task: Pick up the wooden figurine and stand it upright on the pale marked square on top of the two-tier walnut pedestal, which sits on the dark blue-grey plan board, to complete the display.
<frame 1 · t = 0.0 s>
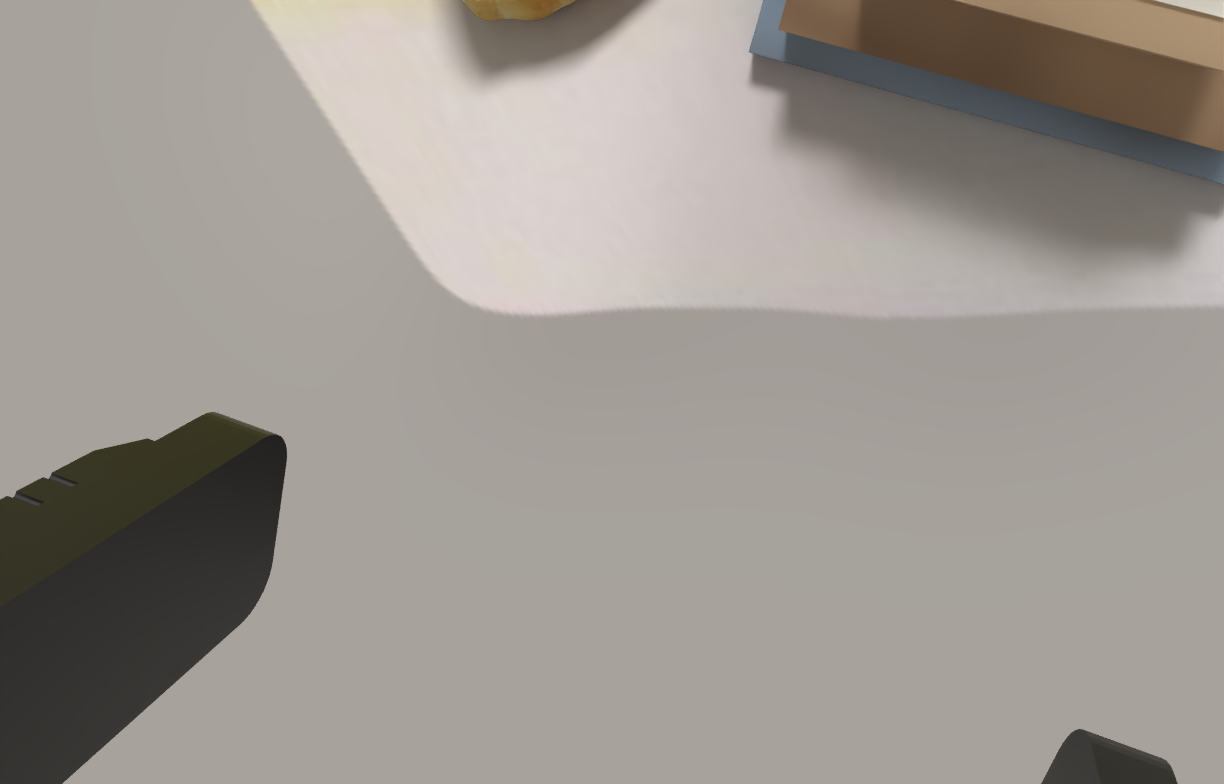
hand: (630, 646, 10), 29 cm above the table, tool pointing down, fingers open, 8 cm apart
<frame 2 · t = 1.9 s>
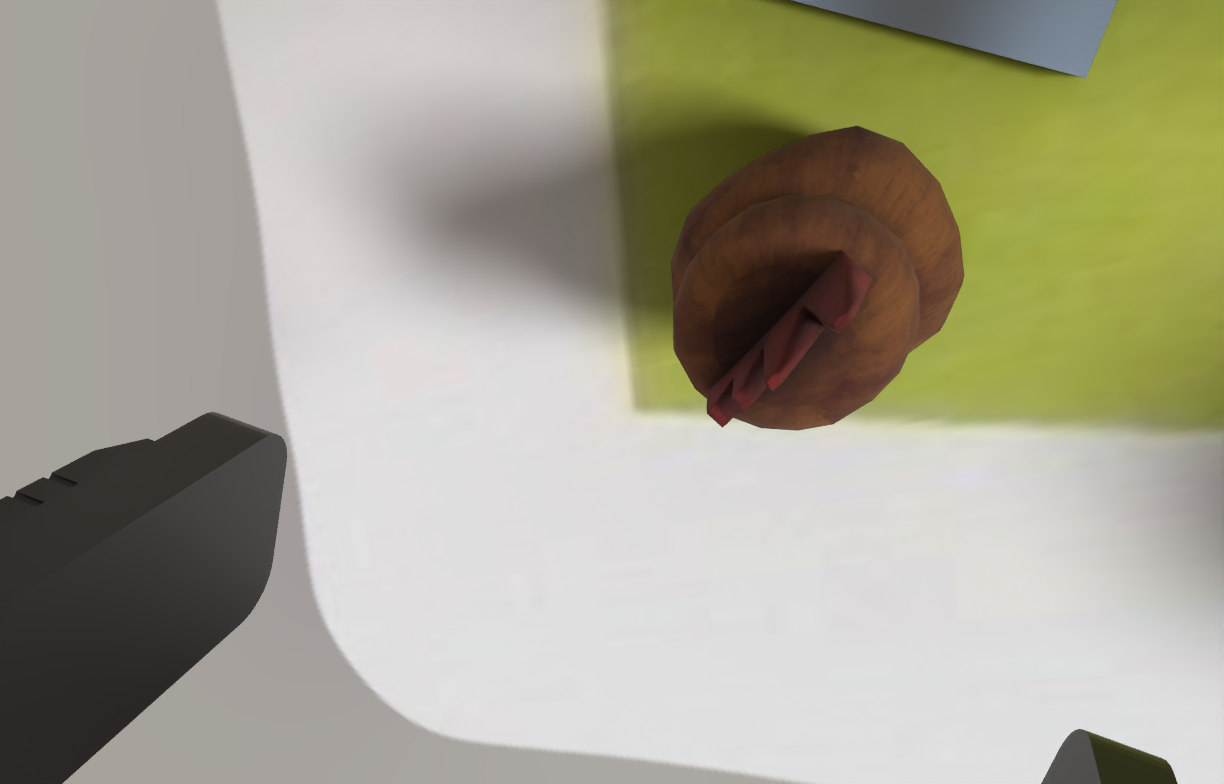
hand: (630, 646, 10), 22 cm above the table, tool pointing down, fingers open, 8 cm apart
wooden figurine: (829, 229, 30), on the table
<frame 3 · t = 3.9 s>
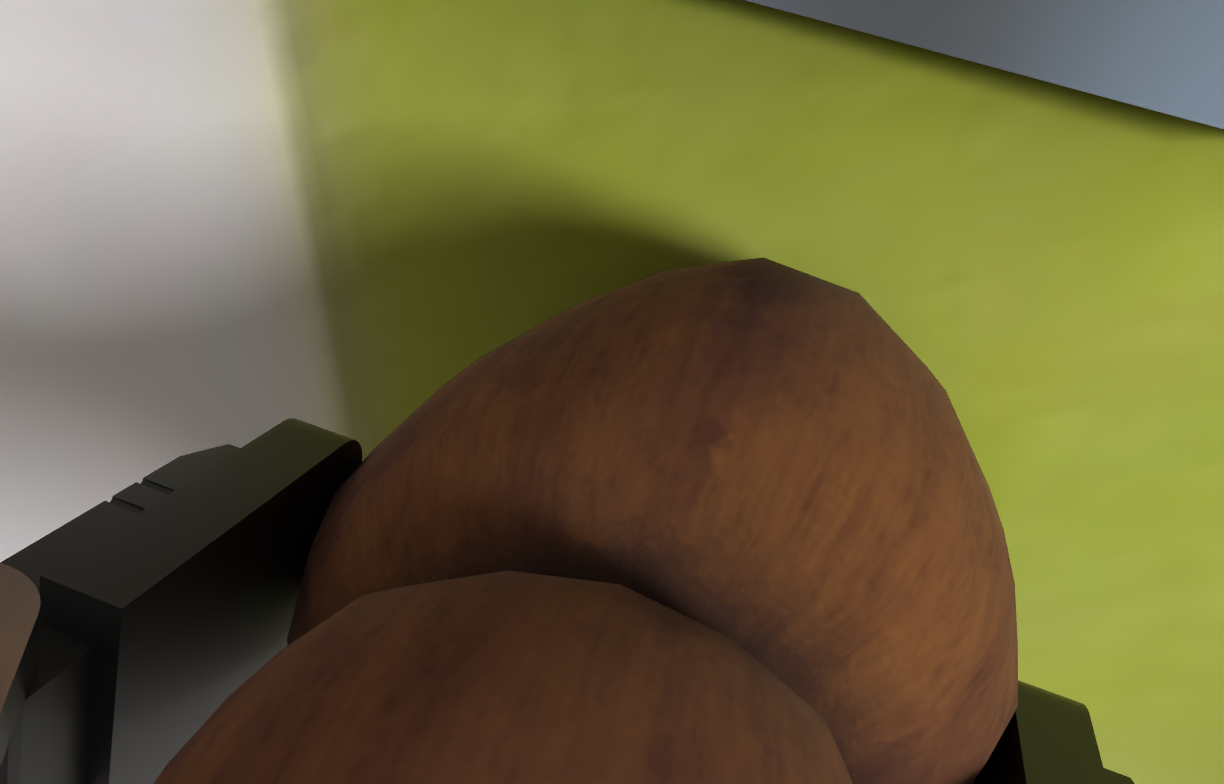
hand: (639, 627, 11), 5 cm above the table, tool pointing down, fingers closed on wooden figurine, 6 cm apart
wooden figurine: (729, 426, 15), on the table, touching gripper
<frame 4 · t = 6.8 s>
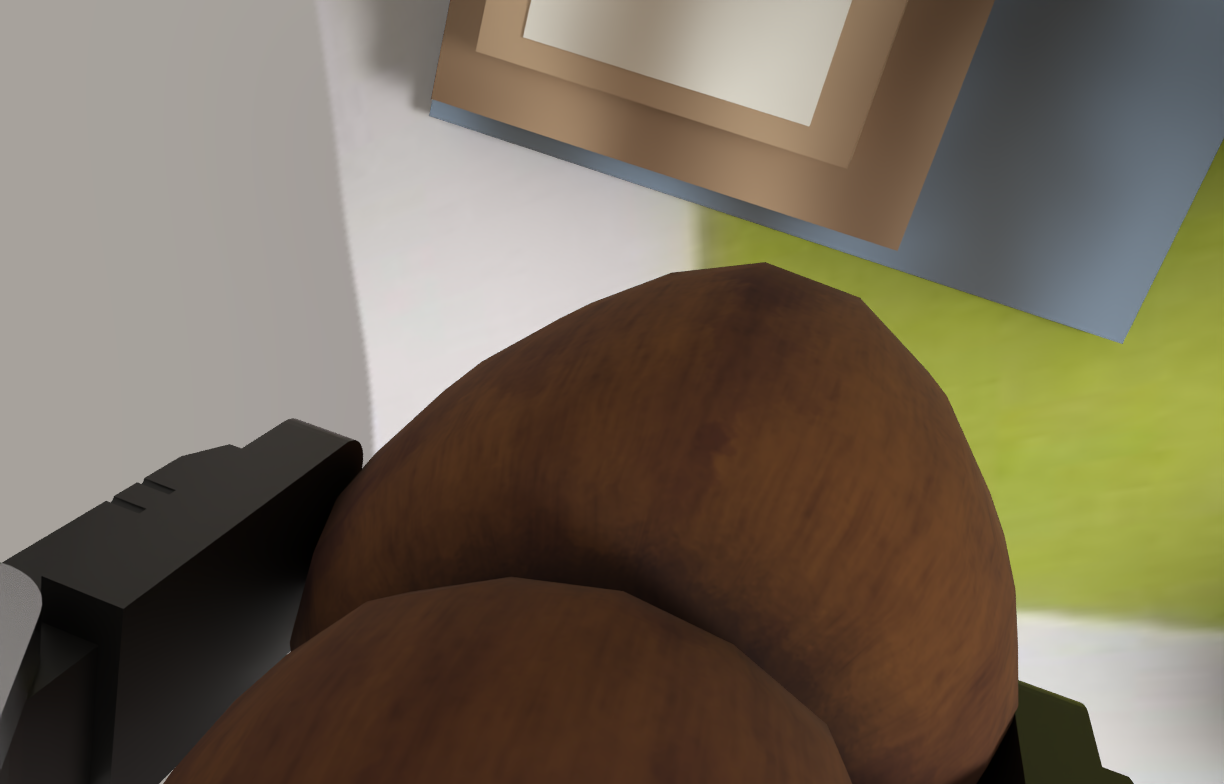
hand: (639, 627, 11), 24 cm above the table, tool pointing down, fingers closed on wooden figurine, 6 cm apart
wooden figurine: (730, 429, 15), point 19 cm above the table, touching gripper
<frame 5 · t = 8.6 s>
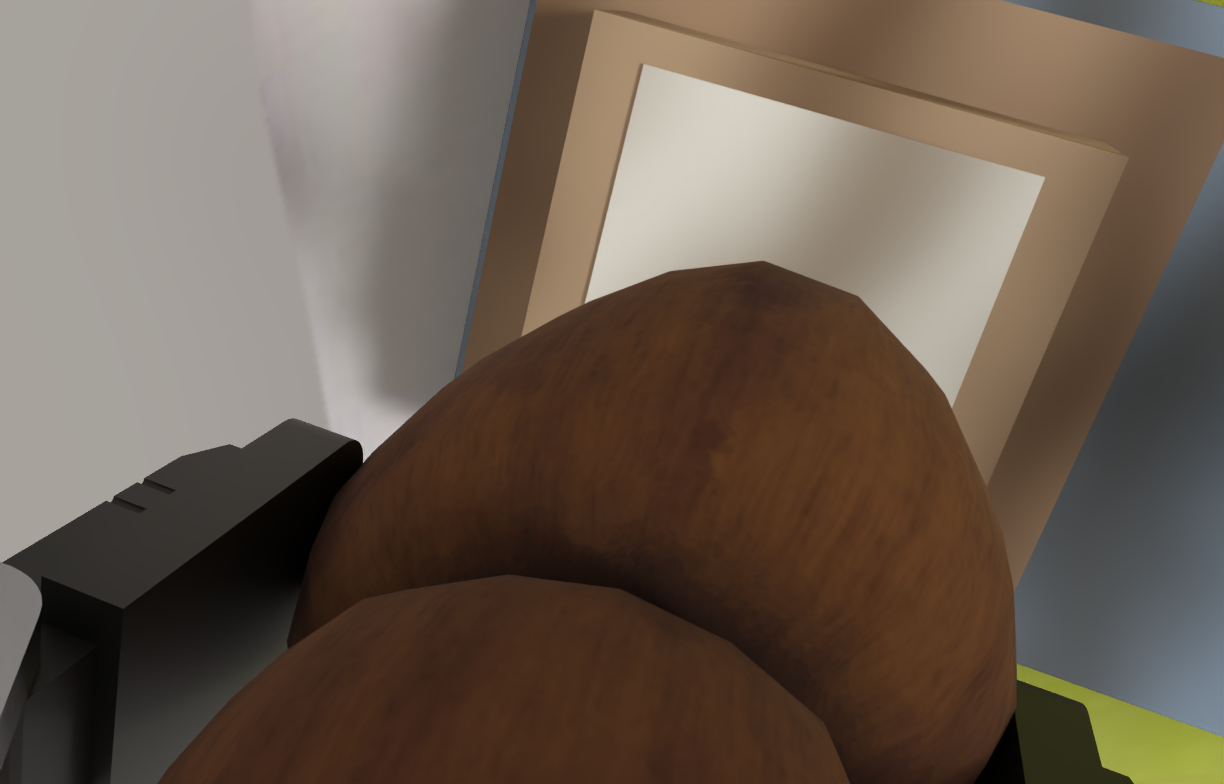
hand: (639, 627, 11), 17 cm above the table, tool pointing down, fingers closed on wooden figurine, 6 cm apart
plan board: (916, 304, 26), on the table
wooden figurine: (728, 428, 15), point 12 cm above the table, touching gripper
when the fingers open (12 cm above the table, at t = 10.1 s): wooden figurine drops 1 cm, resting on plan board.
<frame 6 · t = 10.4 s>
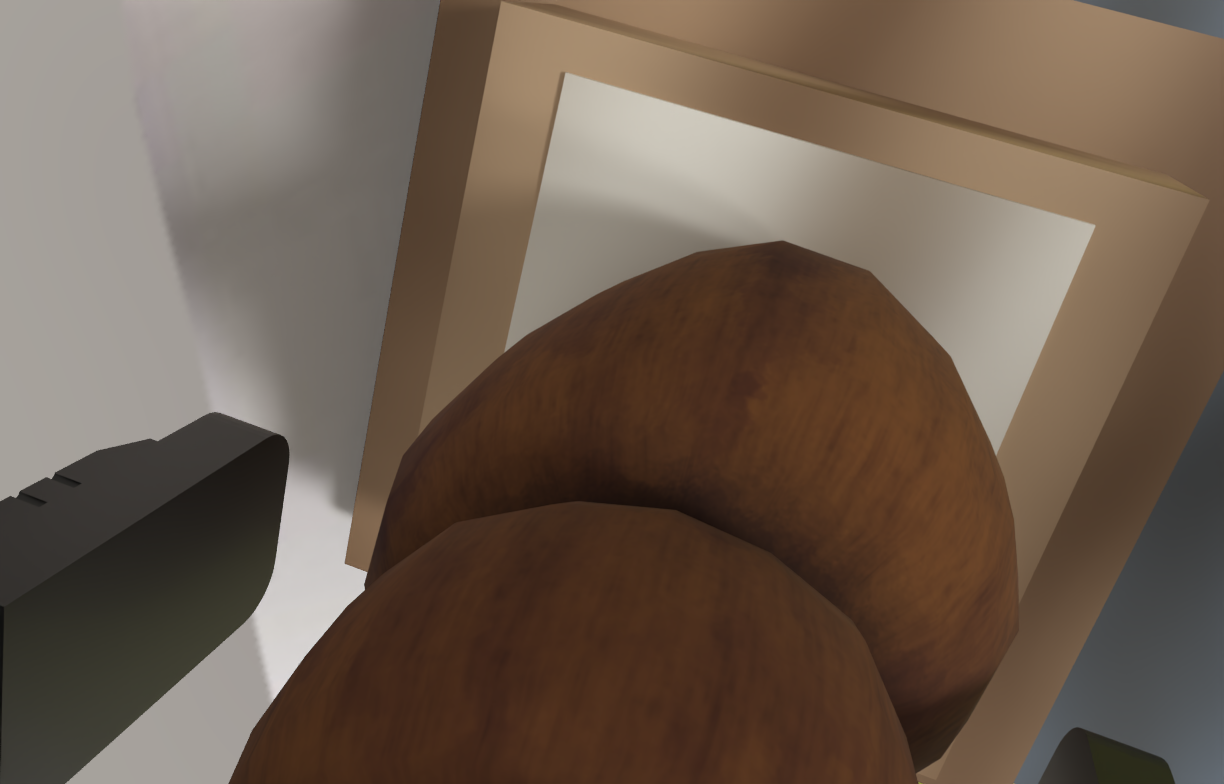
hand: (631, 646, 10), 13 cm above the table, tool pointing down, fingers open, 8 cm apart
plan board: (920, 363, 21), on the table
wooden figurine: (749, 401, 16), point 6 cm above the table, touching plan board
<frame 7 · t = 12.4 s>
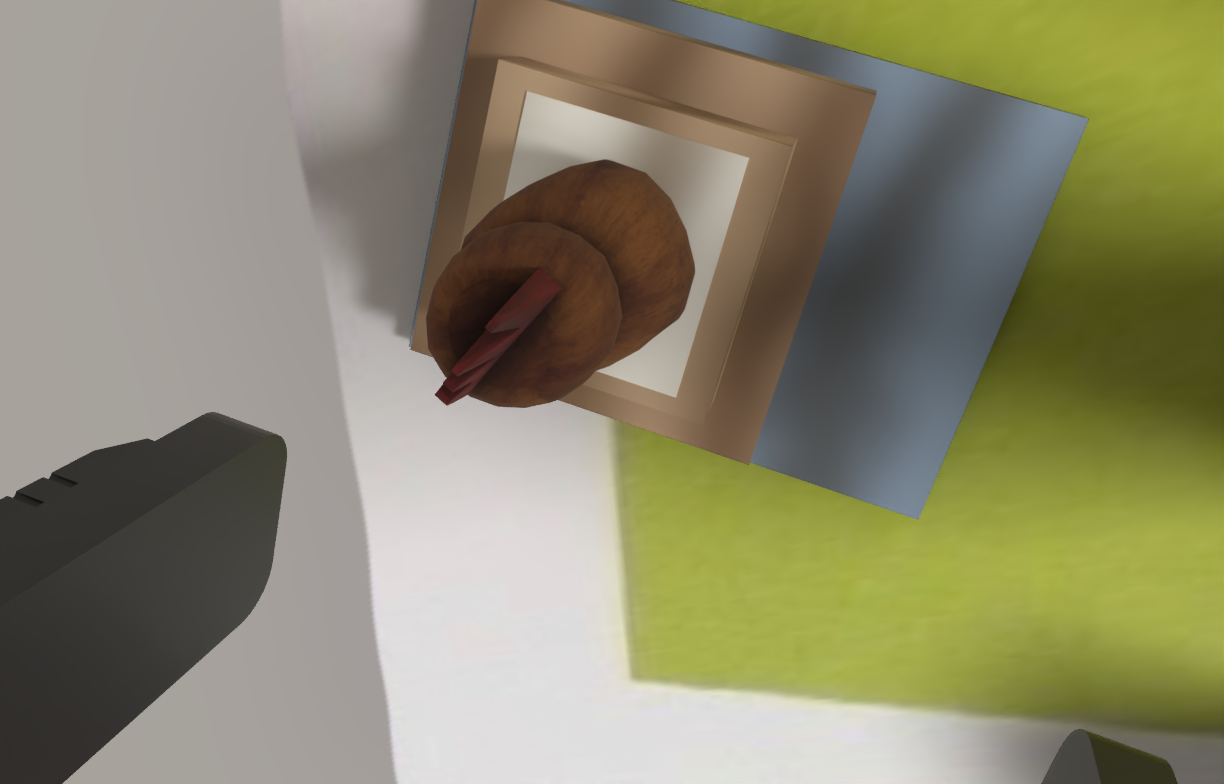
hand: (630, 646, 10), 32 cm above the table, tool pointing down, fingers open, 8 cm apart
plan board: (714, 240, 41), on the table
wooden figurine: (611, 241, 36), point 6 cm above the table, touching plan board
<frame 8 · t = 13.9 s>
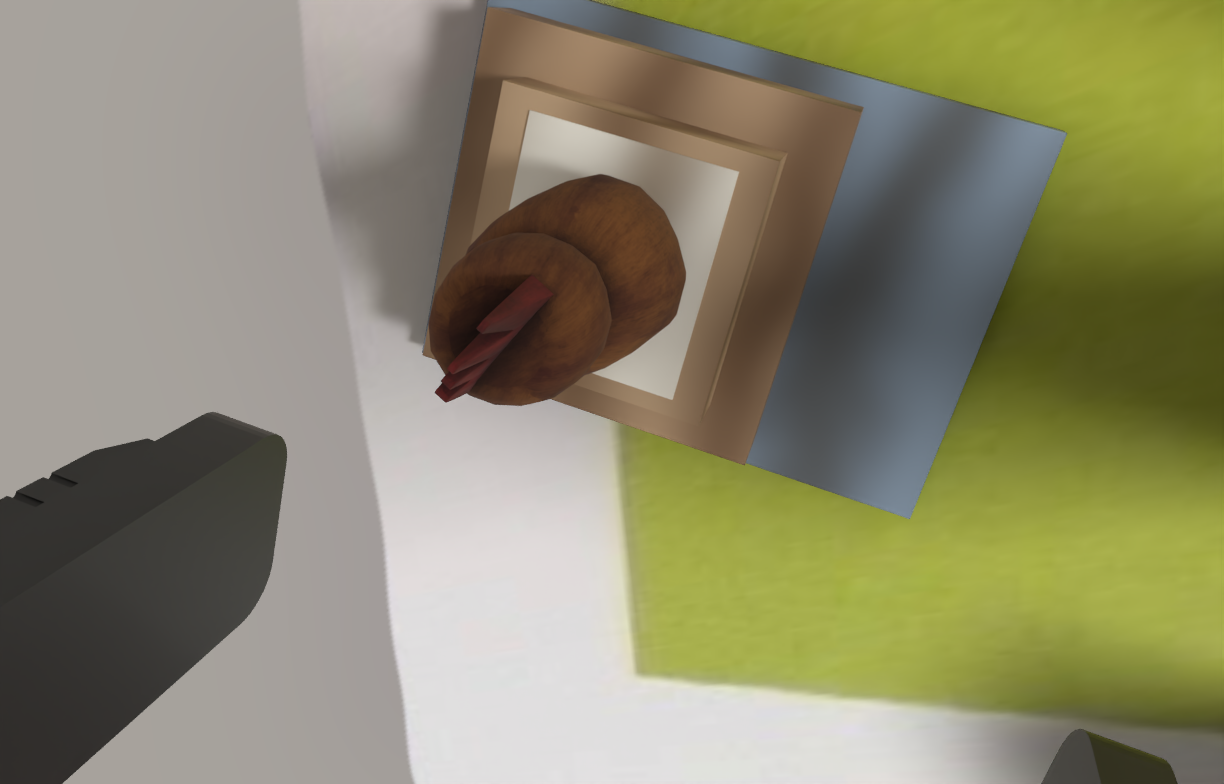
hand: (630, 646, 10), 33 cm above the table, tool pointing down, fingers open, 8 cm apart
plan board: (712, 250, 43), on the table
wooden figurine: (610, 251, 38), point 6 cm above the table, touching plan board
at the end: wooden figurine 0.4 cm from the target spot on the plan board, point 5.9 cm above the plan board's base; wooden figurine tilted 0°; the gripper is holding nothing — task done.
